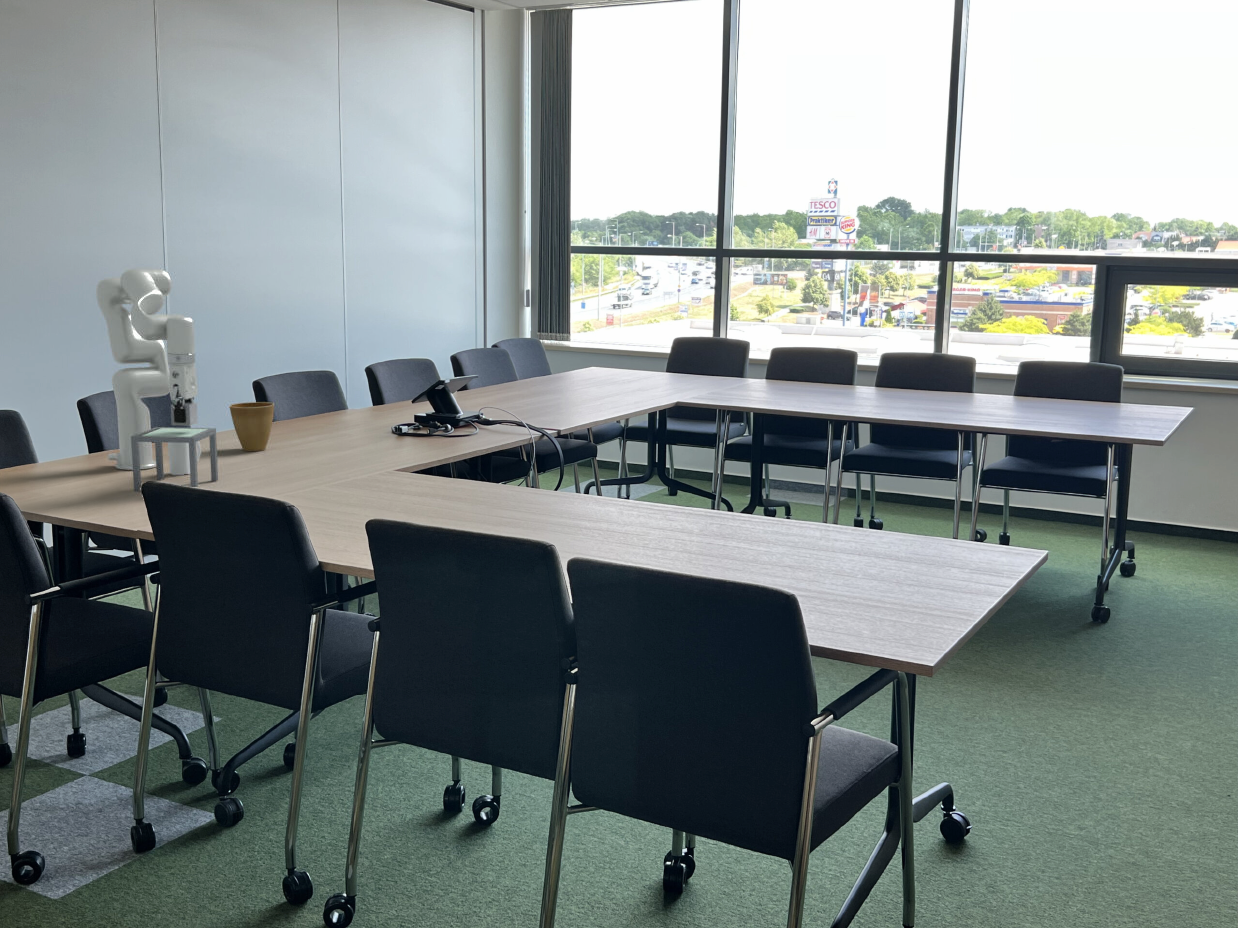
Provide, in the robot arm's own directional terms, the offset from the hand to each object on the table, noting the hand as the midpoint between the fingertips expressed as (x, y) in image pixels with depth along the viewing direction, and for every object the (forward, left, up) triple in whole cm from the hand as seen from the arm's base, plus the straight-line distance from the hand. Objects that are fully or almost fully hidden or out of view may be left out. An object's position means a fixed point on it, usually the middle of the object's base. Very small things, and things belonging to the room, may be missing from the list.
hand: (184, 420), depth 336 cm
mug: (-8, +19, -20) cm, 29 cm away
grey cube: (0, 0, -1) cm, 1 cm away
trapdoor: (-3, 0, -5) cm, 5 cm away
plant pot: (-1, +62, -20) cm, 65 cm away
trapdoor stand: (-3, 0, -20) cm, 20 cm away
